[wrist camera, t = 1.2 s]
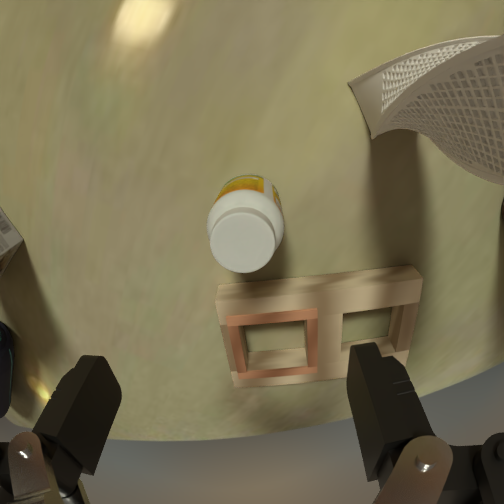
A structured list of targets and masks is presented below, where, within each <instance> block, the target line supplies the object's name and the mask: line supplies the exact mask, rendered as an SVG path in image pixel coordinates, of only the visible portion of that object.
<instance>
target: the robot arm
mask: <svg viewBox="0 0 504 504" xmlns="http://www.w3.org/2000/svg"><path fill="white" fill-rule="evenodd" d="M346 382H347V394H348V399H349V403H350V407H351V411H352V415H353V419H354V423H355V427H356V431H357V436H358V440H359V444H360V449H361V453H362V457H363V462H364V467H365V471H366V476H367V480H368V482H369V481H374V480H378V481H379V486H380V491H379V493H378V495H377V497H376V498H375V500H374V502H373V503H372V504H504V433H497V434H494V435H492V436H491V437H489V438H488V439H487V440H486V442H485V443H484V444H483V445H473V446H452V445H448V444H447V443H446V442H445V441H444V440H442V439H440V438H438V437H436V435H435V434H434V433H433V431H432V429H431V427H430V424H429V422H428V419H427V417H426V414H425V412H424V410H423V407H422V405H421V402H420V400H419V398H418V396H417V393H416V392H415V389H414V387H413V384H412V382H411V381H410V378H409V376H408V373H407V371H406V369H405V367H404V365H403V364H401V363H400V362H399V361H398V360H397V359H396V358H395V357H394V356H393V355H392V356H387V357H382V355H381V353H380V350H379V348H378V346H377V344H376V343H375V342H370V343H363V344H356V345H351V347H350V353H349V362H348V371H347V381H346ZM121 398H122V392H121V388H120V385H119V383H118V381H117V380H116V378H115V376H114V374H113V372H112V370H111V368H110V366H109V364H108V362H107V360H106V359H105V358H104V357H103V356H92V355H83V356H82V357H81V358H80V359H79V361H78V362H77V364H76V366H75V367H74V368H72V369H71V370H70V371H69V372H68V373H67V374H65V375H64V376H63V377H62V379H61V380H60V382H59V384H58V385H57V387H56V391H54V392H53V394H52V396H51V399H49V401H48V403H47V405H46V406H45V408H44V410H43V412H42V414H41V415H40V417H39V419H38V421H37V423H36V425H35V427H34V428H33V430H32V432H28V431H26V432H22V433H19V434H17V435H16V436H15V437H14V438H13V439H12V440H11V442H0V486H1V487H0V504H90V502H89V499H88V497H87V494H86V491H85V489H84V486H83V483H82V481H81V480H80V479H79V477H80V474H81V473H85V474H89V475H94V473H95V470H96V467H97V464H98V461H99V458H100V456H101V453H102V450H103V447H104V445H105V442H106V439H107V437H108V434H109V431H110V429H111V426H112V424H113V421H114V418H115V416H116V413H117V411H118V408H119V406H120V403H121Z"/></svg>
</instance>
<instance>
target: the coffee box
mask: <svg viewBox="0 0 504 504" xmlns="http://www.w3.org/2000/svg"><path fill="white" fill-rule="evenodd" d="M22 241H23V238H22V237H21V235H20V234H19V233H18V231H17V230H16V229H15V227H14V226H13V225H12V223H11V222H10V221H9V219H8V218H7V216H6V215H5V213H4V212H3V211H2V209H1V208H0V277H1V276H2V274H3V272H4V271H5V269H6V267H7V266H8V264H9V262H10V261H11V259H12V257H13V256H14V254H15V252H16V251H17V249H18V248H19V246H20V245H21V243H22Z"/></svg>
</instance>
